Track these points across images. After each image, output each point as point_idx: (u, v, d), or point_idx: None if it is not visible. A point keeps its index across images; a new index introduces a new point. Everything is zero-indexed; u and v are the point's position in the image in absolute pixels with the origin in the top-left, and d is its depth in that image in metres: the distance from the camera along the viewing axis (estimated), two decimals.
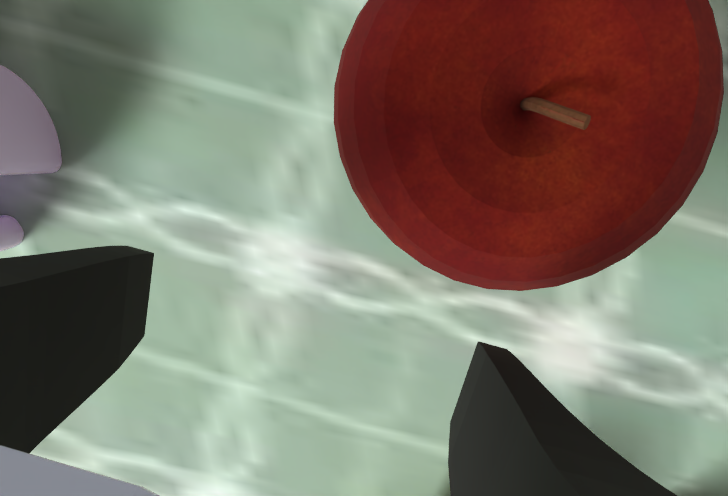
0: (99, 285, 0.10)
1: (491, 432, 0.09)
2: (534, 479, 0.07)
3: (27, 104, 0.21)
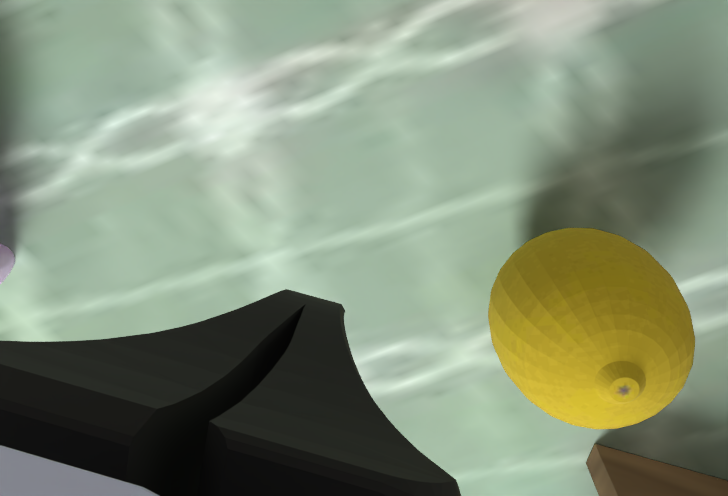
0: (287, 337, 0.09)
1: None
2: None
3: None
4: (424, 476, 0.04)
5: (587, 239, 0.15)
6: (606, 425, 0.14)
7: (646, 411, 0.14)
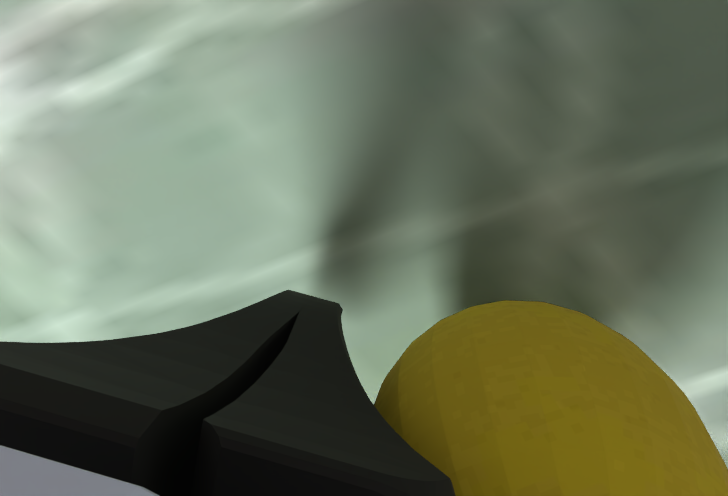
0: None
1: None
2: None
3: None
4: (418, 474, 0.04)
5: (531, 344, 0.08)
6: None
7: None
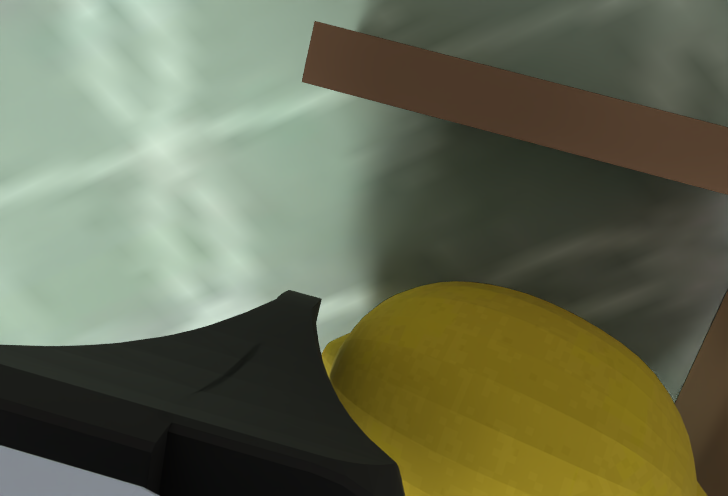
0: None
1: None
2: None
3: None
4: (362, 458, 0.05)
5: (535, 323, 0.09)
6: None
7: None
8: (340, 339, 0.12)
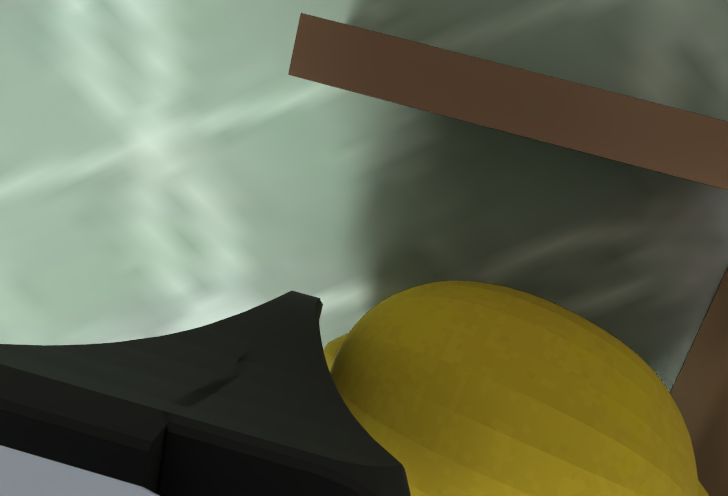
0: None
1: None
2: None
3: None
4: (368, 460, 0.05)
5: (533, 321, 0.09)
6: None
7: None
8: (340, 339, 0.12)
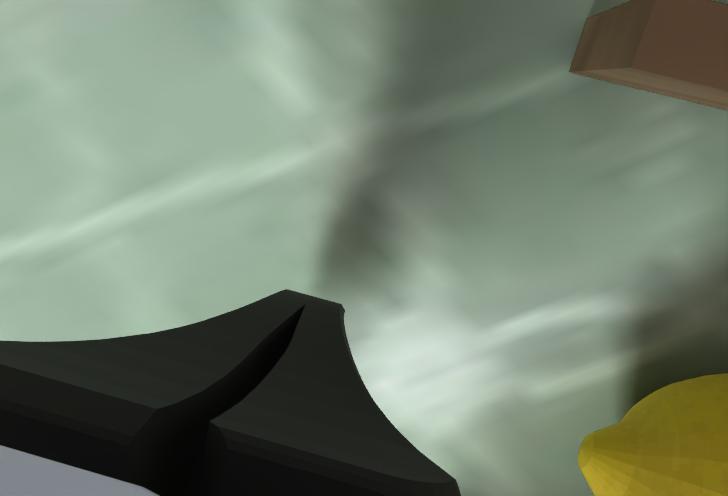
0: (287, 337, 0.09)
1: None
2: None
3: None
4: (424, 476, 0.04)
5: None
6: None
7: None
8: (621, 455, 0.10)
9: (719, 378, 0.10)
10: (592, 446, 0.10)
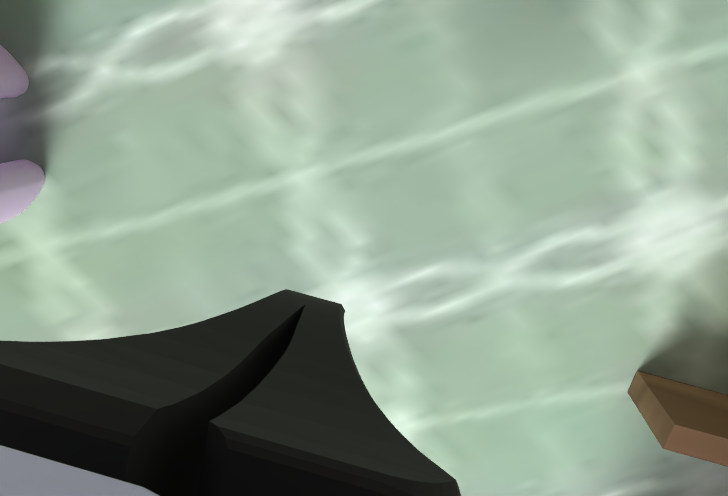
0: (287, 337, 0.09)
1: None
2: None
3: None
4: (423, 476, 0.04)
5: None
6: None
7: None
8: None
9: None
10: None
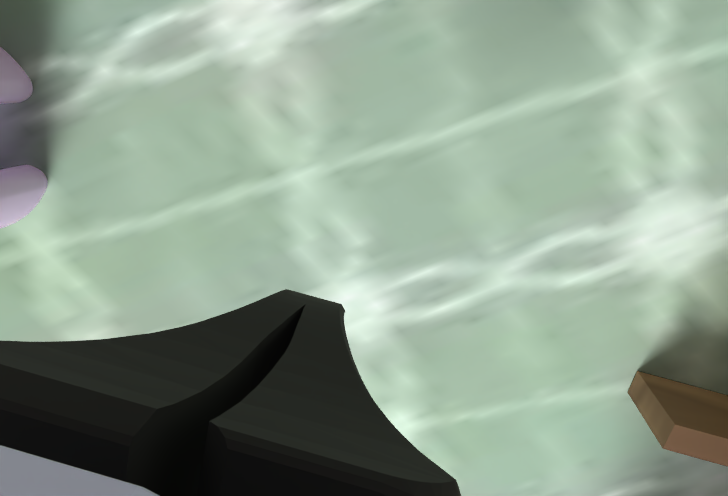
0: (287, 337, 0.09)
1: None
2: None
3: None
4: (423, 476, 0.04)
5: None
6: None
7: None
8: None
9: None
10: None
